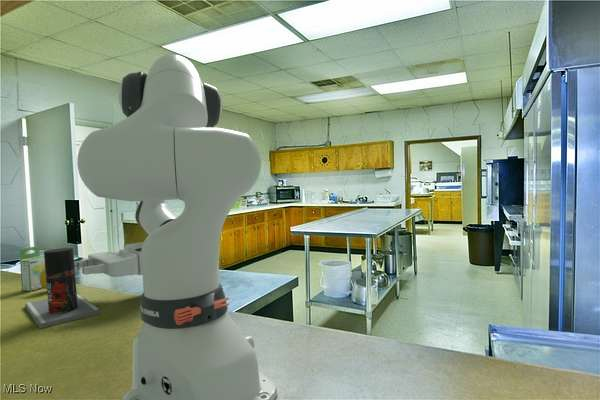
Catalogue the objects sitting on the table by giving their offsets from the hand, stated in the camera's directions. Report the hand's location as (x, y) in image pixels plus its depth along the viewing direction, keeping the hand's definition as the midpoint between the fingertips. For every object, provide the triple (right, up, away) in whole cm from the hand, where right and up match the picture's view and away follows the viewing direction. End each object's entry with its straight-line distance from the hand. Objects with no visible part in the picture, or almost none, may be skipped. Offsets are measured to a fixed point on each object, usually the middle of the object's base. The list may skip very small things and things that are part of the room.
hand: (77, 268), depth 88 cm
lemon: (-20, -11, +19) cm, 30 cm away
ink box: (-28, -11, +23) cm, 38 cm away
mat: (-5, -11, +1) cm, 12 cm away
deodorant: (-2, -10, -2) cm, 11 cm away
